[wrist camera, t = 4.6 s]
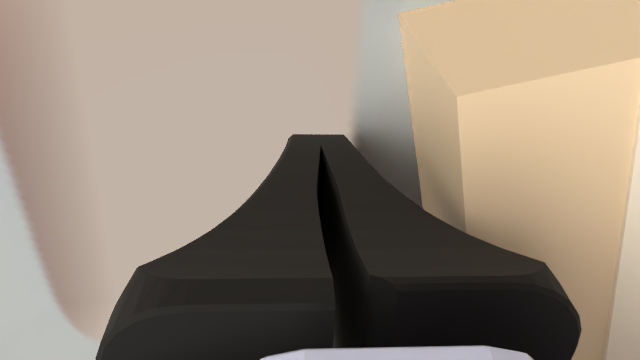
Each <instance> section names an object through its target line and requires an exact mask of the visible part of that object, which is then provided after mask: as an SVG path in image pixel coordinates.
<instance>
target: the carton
mask: <svg viewBox="0 0 640 360" xmlns="http://www.w3.org/2000/svg"><path fill="white" fill-rule="evenodd" d="M398 15H399V23H400V31H401V39H402V47H403V55H404V63H405V71H406V79H407V87H408V95H409V103H410V111H411V119H412V127H413V135H414V143H415V151H416V159H417V167H418V175H419V183H420V190H421V198H422V206H423V209H424V210H425V211H427V212H428V213H430V214H432V215H433V216H435V217H437V218H438V219H440V220H442V221H444V222H446V223H448V224H449V225H451V226H453V227H455V228H457V229H459V230H461V231H463V232H465V233H467V234H469V235H471V236H474V237H476V238H478V239H481V240H483V241H485V242H488V243H490V244H493V245H495V246H497V247H500V248H503V249H506V250H509V251H512V252H515V253H518V254H521V255H524V256H527V257H530V258H533V259H536V260H539V261H542V262H545V263H546V265H547V266H548V267H549V269H550V270H551V271H552V273H553V274H554V275H555V277H556V278H557V280H558V281H559V282H560V284H561V286H562V287H563V289H564V291H565V292H566V294H567V296H568V297H569V299H570V301H571V302H572V304H573V306H574V307H575V309H576V310H577V312H578V314H579V315H580V322H581V329H582V331H581V335H580V338H579V342H578V346H577V348H576V350H575V353H574V355H573V357H572V359H571V360H640V0H454V1H449V2H445V3H440V4H436V5H431V6H427V7H423V8H418V9H414V10H409V11H405V12H401V13H398Z"/></svg>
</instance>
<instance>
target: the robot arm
mask: <svg viewBox="0 0 640 360" xmlns="http://www.w3.org/2000/svg"><path fill="white" fill-rule="evenodd" d="M581 331H582V329H581V322H580V315H579V314H578V312H577V310H576V309H575V307H574V306H573V304H572V302H571V301H570V299H569V297H568V296H567V294H566V292H565V291H564V289H563V287H562V286H561V284H560V282H559V281H558V280H557V278H556V277H555V275H554V274H553V273H552V271H551V270H550V269H549V267H548V266H547V265H546V263H545V262H542V261H539V260H536V259H533V258H530V257H527V256H524V255H521V254H518V253H515V252H512V251H509V250H506V249H503V248H500V247H497V246H495V245H493V244H490V243H488V242H485V241H483V240H481V239H478V238H476V237H474V236H471V235H469V234H467V233H465V232H463V231H461V230H459V229H457V228H455V227H453V226H451V225H449V224H448V223H446V222H444V221H442V220H440V219H438V218H437V217H435V216H433V215H432V214H430V213H428V212H427V211H425V210H424V209H422V208H421V207H419V206H418V205H416V204H415V203H414V202H412V201H411V200H409V199H408V198H406V197H405V196H404V195H403V194H401V193H400V192H399V191H398V190H396V189H395V188H394V187H393V186H392V185H391V184H389V183H388V182H387V181H386V180H385V179H384V178H383V177H382V176H381V175H379V174H378V172H377V171H376V170H375V169H374V168H373V167H372V166H371V165H370V164H369V163H368V162H367V161H366V160H365V159H364V158H363V156H362V155H361V154H360V153H359V152H358V151H357V150H356V148H355V147H354V146H353V145H352V144H351V142H350V141H349V140H348V139H347V138H346V137H345V136H344V135H297V134H296V135H292V136H291V137H290V138H289V139H288V142H287V145H286V147H285V149H284V151H283V153H282V155H281V157H280V158H279V160H278V161H277V163H276V165H275V166H274V167H273V169H272V171H271V172H270V174H269V175H268V176H267V178H266V179H265V180H264V181H263V182H262V184H261V185H260V186H259V187H258V189H257V190H256V191H255V192H254V193H253V194H252V195H251V197H250V198H249V199H248V200H247V201H246V202H245V203H244V204H243V205H242V206H241V207H240V208H239V209H238V210H236V212H234V213H233V214H232V215H231V216H229V217H228V218H227V219H226V220H224V221H223V222H222V223H220V224H219V225H218V226H216V227H215V228H214V229H212V230H211V231H209V232H208V233H206V234H204V235H203V236H201V237H199V238H198V239H196V240H194V241H193V242H191V243H189V244H187V245H185V246H183V247H182V248H180V249H178V250H176V251H174V252H171V253H169V254H167V255H165V256H162V257H160V258H158V259H156V260H153V261H151V262H149V263H147V264H144V265H142V266H139V267H138V268H137V269H136V271H135V272H134V274H133V276H132V277H131V279H130V281H129V282H128V284H127V286H126V287H125V289H124V291H123V293H122V294H121V296H120V298H119V300H118V301H117V304H116V305H115V308H114V310H113V312H112V314H111V317H110V319H109V322H108V325H107V328H106V330H105V333H104V335H103V338H102V341H101V343H100V346H99V350H98V353H97V356H96V360H571V359H572V357H573V355H574V353H575V350H576V348H577V346H578V342H579V338H580V335H581Z"/></svg>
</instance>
